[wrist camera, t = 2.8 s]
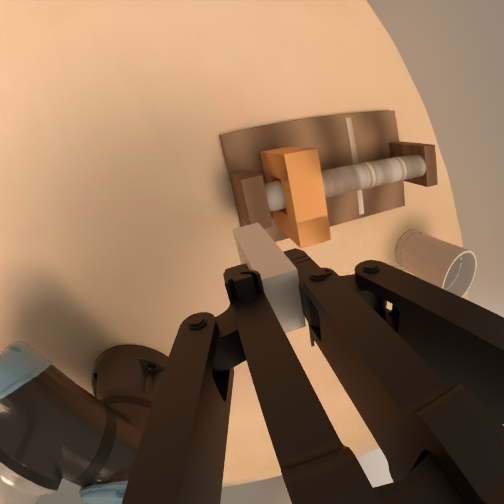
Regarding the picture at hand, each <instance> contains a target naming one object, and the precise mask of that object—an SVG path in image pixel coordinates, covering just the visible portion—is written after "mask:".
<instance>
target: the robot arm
mask: <svg viewBox="0 0 504 504" xmlns="http://www.w3.org/2000/svg"><path fill="white" fill-rule="evenodd" d="M233 232H234V236H235V240H236V244H237V248H238V252H239V256H240V260H241V264H242V265H238V266H235V267H231V268H228V269H226V270H225V272H224V274H223V275H224V279H225V286H226V290H227V293H228V297H229V300H230V306H229V308H228V309H227V310H226V311H225V312H224V313H222V314H220V315H219V316H217V317H215V316H214V315H213V314H211V313H207V312H201V313H197V314H193V315H191V316H189V317H187V318H186V319H185V320H184V321H183V322H182V324H181V325H180V328H179V330H178V333H177V336H176V338H175V341H174V344H173V347H172V349H171V352H170V355H169V358H168V357H167V356H165V355H163V354H161V353H160V352H157V351H155V350H152V349H150V348H146V347H142V346H135V345H123V346H117V347H113V348H111V349H108V350H106V351H105V352H103V353H102V354H101V355H100V356H99V357H98V359H97V360H96V362H95V365H94V369H93V372H92V387H93V394H94V396H93V395H91V394H90V393H89V392H87V391H86V390H84V389H83V388H81V387H80V386H79V385H77V384H76V383H75V382H73V381H72V380H71V379H69V378H68V377H67V376H66V375H64V374H63V373H62V372H61V371H59V370H58V369H57V368H56V367H55V366H53V365H52V362H51V361H50V360H46V359H45V358H44V357H43V356H41V355H40V354H39V353H38V352H36V351H35V350H34V349H33V348H31V347H30V346H29V345H28V344H26V343H24V342H20V341H17V342H13V343H11V344H10V345H9V346H8V347H7V348H6V349H5V350H4V351H3V352H2V353H1V354H0V504H37V501H38V499H39V496H41V495H43V494H49V493H55V492H57V490H58V487H59V484H60V482H61V480H62V478H64V479H66V480H69V481H71V482H73V483H75V484H77V485H79V486H80V487H81V489H80V491H79V493H80V494H81V498H82V500H83V501H84V502H85V503H87V504H220V500H221V490H222V480H223V471H224V461H225V452H226V442H227V433H228V424H229V414H230V405H231V396H232V386H233V377H234V368H233V367H235V366H236V365H238V364H240V363H242V362H244V361H245V360H247V363H248V367H249V370H250V373H251V377H252V380H253V383H254V387H255V390H256V393H257V396H258V400H259V403H260V406H261V409H262V413H263V416H264V419H265V422H266V425H267V428H268V431H269V435H270V438H271V441H272V444H273V447H274V450H275V453H276V456H277V459H278V462H279V465H280V468H281V472H282V476H283V479H284V482H285V485H286V488H287V490H288V493H289V496H290V499H291V502H292V504H504V426H503V424H504V318H503V317H501V316H499V315H497V314H495V313H493V312H491V311H489V310H487V309H485V308H483V307H481V306H479V305H477V304H474V303H472V302H470V301H468V300H466V299H464V298H462V297H460V296H457V295H455V294H453V293H451V292H449V291H447V290H444V289H442V288H440V287H438V286H436V285H433V284H431V283H429V282H427V281H425V280H422V279H420V278H418V277H416V276H413V275H411V274H409V273H406V272H404V271H402V270H399V269H397V268H395V267H393V266H390V265H388V264H386V263H383V262H380V261H375V260H367V261H364V262H361V263H359V264H358V265H356V267H355V274H353V275H346V276H339V275H338V274H337V273H335V272H334V271H333V270H331V269H329V268H320V267H319V266H318V265H317V264H316V263H315V262H314V261H313V260H312V259H311V258H310V257H309V256H308V255H307V254H306V253H305V252H304V251H302V250H299V249H296V248H295V249H292V250H288V251H285V252H283V251H282V250H281V249H280V248H279V247H278V245H277V244H276V243H275V242H274V241H273V239H272V238H271V237H270V236H269V235H268V233H267V232H266V231H265V230H264V229H263V228H262V226H261V225H260V224H259V223H254V224H250V225H247V226H243V227H239V228H236V229H233ZM387 301H388V302H390V303H392V304H393V305H392V311H391V310H389V309H387V308H386V305H387ZM304 316H305V318H306V319H307V321H308V324H309V332H310V339H311V345H312V346H314V340H315V342H316V343H317V345H318V347H319V348H320V350H321V351H322V353H323V355H324V356H325V358H326V360H327V361H328V363H329V364H330V366H331V368H332V369H333V371H334V373H335V374H336V376H337V377H338V379H339V381H340V382H341V384H342V386H343V387H344V389H345V391H346V392H347V394H348V396H349V397H350V399H351V400H352V402H353V404H354V405H355V407H356V409H357V410H358V412H359V414H360V415H361V417H362V419H363V420H364V422H365V423H366V425H367V427H368V428H369V430H370V432H371V433H372V435H373V437H374V438H375V440H376V442H377V443H378V445H379V447H380V448H381V450H382V452H383V453H384V455H385V457H386V459H387V461H388V465H389V471H390V474H391V477H392V479H393V481H394V482H393V483H390V484H386V485H382V486H379V487H375V488H372V486H371V484H370V482H369V480H368V478H367V477H366V475H365V473H364V471H363V469H362V467H361V465H360V464H359V462H358V460H357V458H356V457H355V455H354V453H353V452H352V451H351V449H350V448H349V447H346V446H344V445H343V444H342V443H341V441H340V439H339V437H338V435H337V434H336V432H335V430H334V428H333V426H332V424H331V422H330V420H329V418H328V416H327V414H326V412H325V410H324V408H323V406H322V405H321V403H320V401H319V399H318V397H317V395H316V393H315V391H314V389H313V387H312V385H311V383H310V381H309V379H308V377H307V375H306V373H305V371H304V370H303V368H302V366H301V364H300V362H299V360H298V358H297V356H296V354H295V352H294V350H293V348H292V346H291V344H290V342H289V340H288V338H287V336H286V334H285V333H287V332H290V331H293V330H296V329H299V328H302V327H305V326H306V325H305V318H304Z"/></svg>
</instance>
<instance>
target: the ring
mask: <svg viewBox="0 0 504 504" xmlns="http://www.w3.org/2000/svg"><path fill="white" fill-rule="evenodd" d="M260 155H261V159H262V164H263V169H264V173H265V178H266V183H269V182H274V181H278V180H281V183H282V188H283V193H284V198H285V204H286V208H284V209H280V210H276V211H272V212H273V217H274V222H275V225H277V226H278V227H279V228H280V229H281V230H282V231H283V232H284V233H285V234H286V235H287V236H288V237H289V238H290V239H291V240H292V241H294V242H295V243H296V244H297V245H298V246H299V247H300V248H304V247H308V246H311V245H314V244H318V243H321V242H325V241H328V240H331V238H330V229H329V221H328V214H327V206H326V199H325V193H324V186H323V180H322V173H321V167H320V161H319V156H318V150H317V148H304V147H282V148H277V149H272V150H267V151H263V152H260Z"/></svg>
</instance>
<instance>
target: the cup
mask: <svg viewBox="0 0 504 504" xmlns="http://www.w3.org/2000/svg"><path fill="white" fill-rule="evenodd" d="M396 259H397V262H398V263H399V264H400V265H402V266H403V267H405V268H406V269H407V270H409V271H410V272H411V273H412V274H414V275H415V276H416V277H418V278H420V279H422V280H425V281H427V282H429V283H431V284H433V285H436V286H438V287H440V288H442V289H444V290H447V291H449V292H451V293H453V294H455V295H457V296H460V297H463V296H464V295H465V294H466V292H467V291H468V289H469V287H470V286H471V284H472V282H473V279H474V276H475V272H476V266H477V265H476V263H477V262H476V257H475V254H474V253H473V252H472V251H469V250H467V249H464V248H462V247H459V246H456V245H453V244H450V243H447V242H445V241H442V240H439V239H437V238H434V237H431V236H428V235H426V234H423V233H421V232H419V231H417V230H410V231H407V232H406V233H405V234H404V235H403V236H402V237H401V238H400V240H399V242H398V244H397V247H396Z"/></svg>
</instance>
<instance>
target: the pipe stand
mask: <svg viewBox="0 0 504 504" xmlns="http://www.w3.org/2000/svg"><path fill="white" fill-rule="evenodd" d="M220 138H221V142H222V146H223V150H224V155H225V159H226V163H227V167H228V172H229V176H230V180H231V184H232V188H233V193H234V197H235V201H236V205H237V209H238V214H239V218H240V222H241V226H242V227H243V226H247V225H250V224H254V223H259V224H260V225H261V226H262V228H263V229H264V230H265V231H266V232H267V233H268V235H269V236H270V237H271V238H272V239H273V241H274V242H276V241H280V240H284V239H287V238H289V237H288V236H287V235H286V234H285V233H284V232H283V231H282V230H281V229H280V228H279V227H278V226H277V225H275V222H274V217H273V212H272V211H276V210H280V209H284V208H286V204H285V198H284V193H283V188H282V183H281V180H278V181H274V182H269V183H266V178H265V173H264V169H263V164H262V159H261V155H260V152H263V151H267V150H272V149H277V148H282V147H304V148H317V150H318V156H319V161H320V167H321V173H322V180H323V186H324V193H325V199H326V206H327V214H328V221H329V227H330V226H333V225H337V224H341V223H344V222H348V221H351V220H355V219H358V218H362V217H366V216H369V215H373V214H376V213H380V212H384V211H387V210H391V209H394V208H398V207H402V206H405V200H404V185H403V181H407V182H411V183H415V184H418V185H422V186H426V187H429V186H433V185H437V167H436V154H435V145H430V144H421V143H410V142H399V137H398V130H397V123H396V117H395V111H377V112H363V113H352V114H341V115H332V116H324V117H316V118H309V119H302V120H295V121H289V122H283V123H277V124H271V125H266V126H261V127H256V128H251V129H246V130H241V131H236V132H232V133H227V134H223V135H220Z"/></svg>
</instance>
